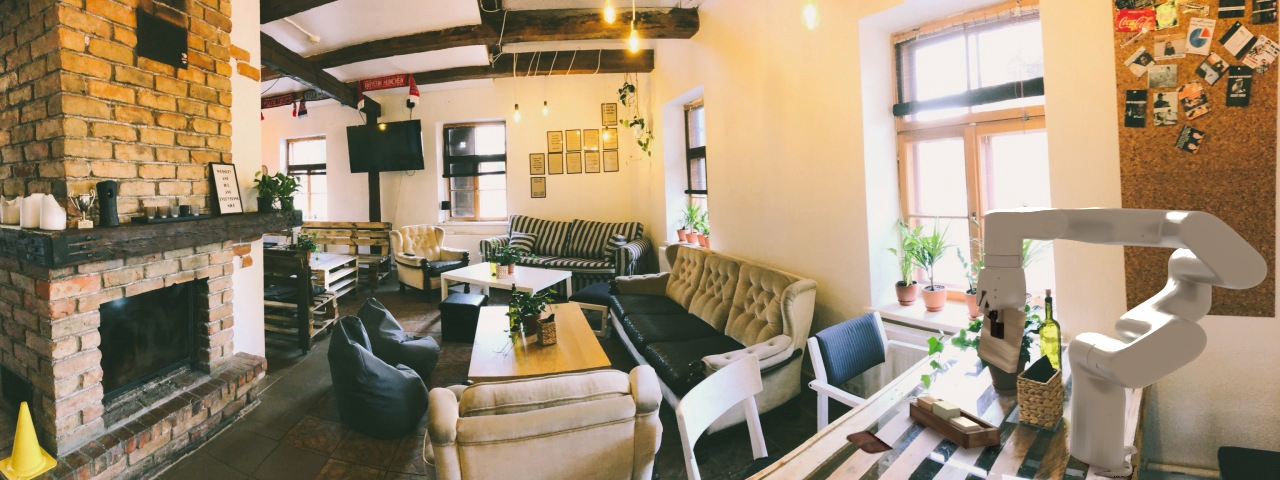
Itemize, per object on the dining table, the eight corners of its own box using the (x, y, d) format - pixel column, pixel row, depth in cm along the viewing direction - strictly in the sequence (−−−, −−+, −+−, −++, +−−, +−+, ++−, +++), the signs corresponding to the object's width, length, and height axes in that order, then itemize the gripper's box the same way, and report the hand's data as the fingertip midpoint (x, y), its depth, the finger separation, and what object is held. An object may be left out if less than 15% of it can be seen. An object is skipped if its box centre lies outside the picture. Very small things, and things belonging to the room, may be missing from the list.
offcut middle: (945, 425, 140) (945, 400, 139) (960, 433, 135) (960, 408, 134) (932, 426, 139) (933, 402, 138) (947, 435, 134) (947, 409, 133)
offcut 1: (929, 415, 145) (929, 395, 145) (942, 423, 141) (942, 402, 140) (917, 417, 145) (917, 397, 144) (930, 425, 140) (930, 404, 139)
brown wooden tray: (940, 416, 148) (940, 398, 147) (1000, 449, 128) (1000, 429, 128) (909, 420, 146) (909, 402, 146) (965, 454, 126) (966, 434, 126)
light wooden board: (983, 355, 127) (993, 299, 124) (1015, 372, 119) (1027, 313, 115) (977, 355, 127) (986, 300, 123) (1008, 373, 118) (1019, 314, 115)
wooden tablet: (918, 417, 146) (948, 427, 137) (919, 425, 146) (949, 436, 137) (842, 434, 138) (869, 446, 129) (843, 442, 138) (870, 455, 129)
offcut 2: (963, 434, 134) (963, 416, 133) (978, 443, 129) (979, 424, 128) (949, 436, 133) (950, 418, 133) (965, 445, 128) (965, 426, 128)
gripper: (1016, 257, 124) (1014, 330, 126) (961, 262, 122) (960, 336, 123) (1045, 261, 117) (1043, 338, 119) (988, 265, 114) (986, 344, 116)
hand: (1001, 336), depth 121 cm, fingers closed on light wooden board, 1 cm apart
